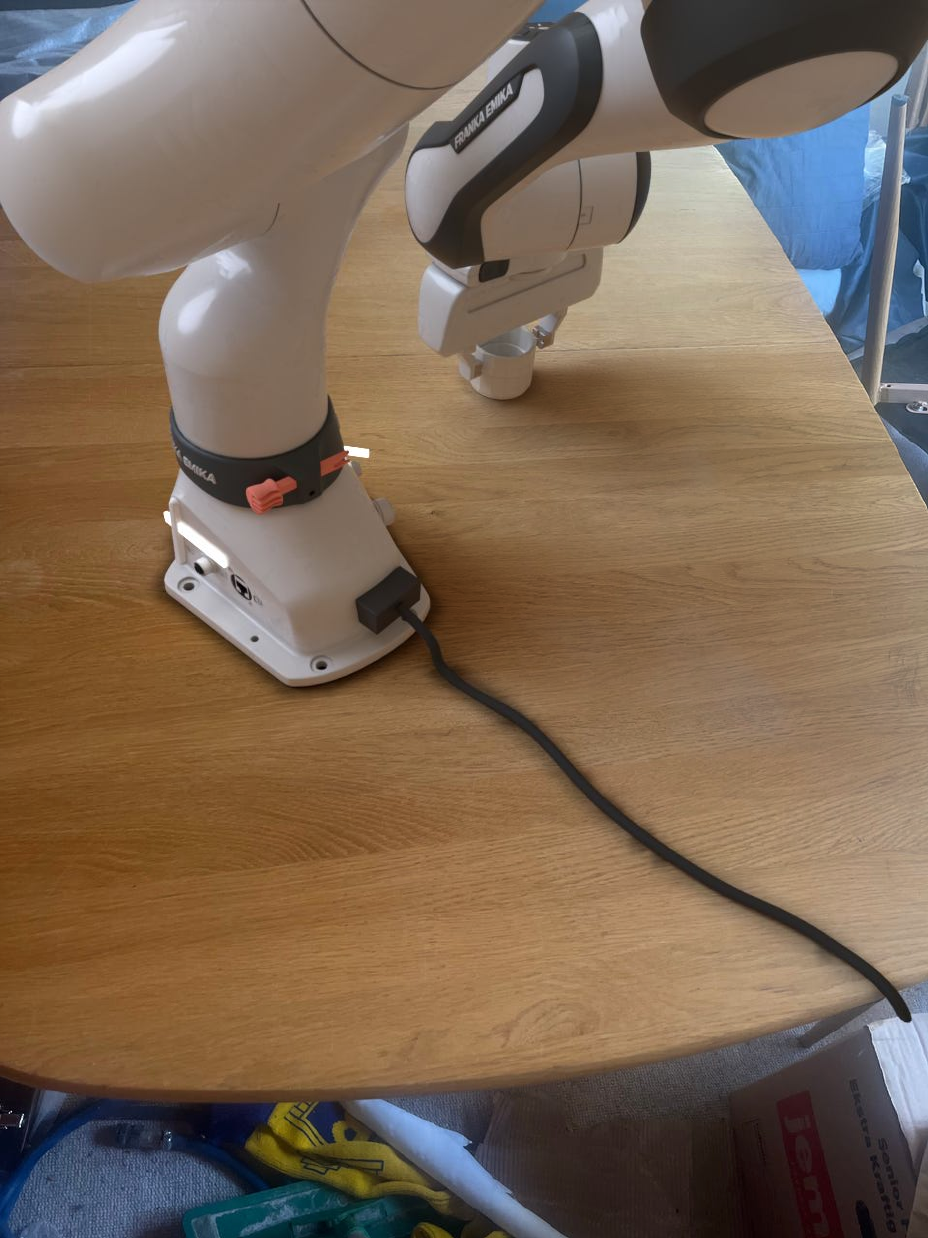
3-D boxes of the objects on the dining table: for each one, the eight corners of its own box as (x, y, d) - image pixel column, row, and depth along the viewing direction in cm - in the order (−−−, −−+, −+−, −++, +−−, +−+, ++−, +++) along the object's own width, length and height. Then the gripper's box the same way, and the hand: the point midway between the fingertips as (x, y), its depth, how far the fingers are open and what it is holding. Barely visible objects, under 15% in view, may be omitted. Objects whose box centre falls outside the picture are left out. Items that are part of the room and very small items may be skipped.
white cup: (543, 386, 98) (550, 344, 94) (495, 409, 95) (500, 366, 91) (502, 355, 101) (507, 313, 97) (454, 376, 98) (458, 333, 94)
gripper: (582, 182, 91) (562, 312, 101) (409, 242, 82) (406, 377, 92) (630, 211, 88) (603, 341, 98) (455, 276, 79) (446, 412, 89)
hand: (506, 359), depth 95 cm, fingers open, 8 cm apart
